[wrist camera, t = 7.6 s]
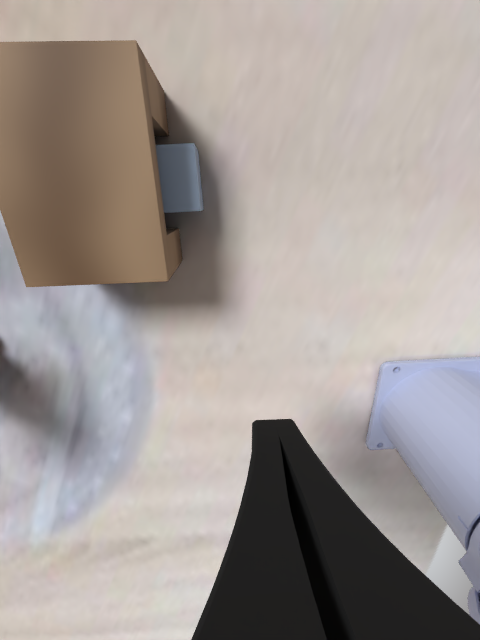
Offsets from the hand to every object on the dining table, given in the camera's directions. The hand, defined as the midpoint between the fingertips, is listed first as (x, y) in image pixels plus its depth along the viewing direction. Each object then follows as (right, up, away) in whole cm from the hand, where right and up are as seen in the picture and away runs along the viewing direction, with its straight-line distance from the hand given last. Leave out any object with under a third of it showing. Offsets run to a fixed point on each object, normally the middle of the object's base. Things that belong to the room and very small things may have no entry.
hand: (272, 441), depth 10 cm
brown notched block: (-8, +11, +5) cm, 14 cm away
